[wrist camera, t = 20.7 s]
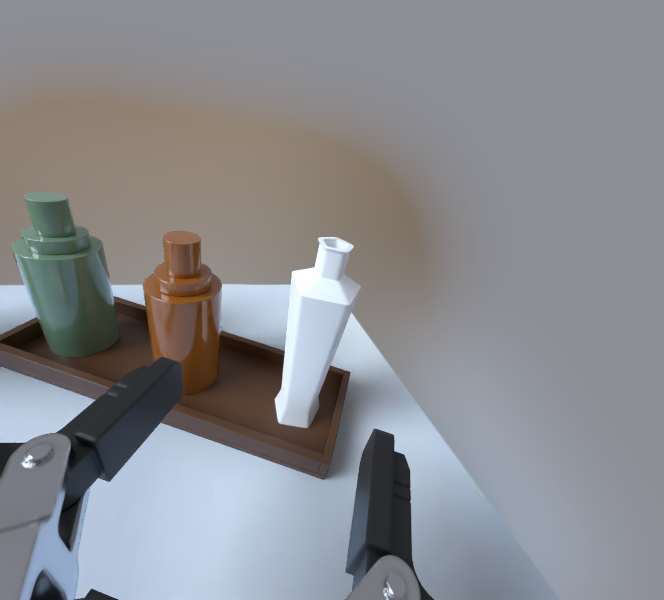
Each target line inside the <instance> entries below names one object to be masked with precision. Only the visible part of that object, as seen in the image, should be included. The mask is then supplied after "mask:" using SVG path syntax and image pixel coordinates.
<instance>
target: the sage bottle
mask: <svg viewBox="0 0 664 600" xmlns="http://www.w3.org/2000/svg"><path fill="white" fill-rule="evenodd" d="M24 200H25V203H26V206H27V209H28V212H29V215H30V218H31V221H32V224H33V226H30V227H27V228H25V229H24V230H23V231H22V232H21V235H22V238H21V239H19V240H17V241H16V242H15V243H14V244H13V245H12V247H11V249H12V252H13V255H14V258H15V260H16V263H17V265H18V268H19V270H20V273H21V276H22V279H23V281H24V284H25V287H26V289H27V292H28V295H29V297H30V300H31V302H32V305H33V308H34V310H35V313H36V316H37V318H38V321H39V324H40V326H41V329H42V331H43V334H44V337H45V339H46V342H47V345H48V347H49V349H50V350H51V351H52V352H53V353H55V354H57V355H59V356H64V357H83V356H88V355H92V354H96V353H99V352H101V351H103V350H105V349H107V348H109V347H110V346H112V345H113V344H114V343H115V342H116V341H117V340H118V339H119V337H120V327H119V322H118V317H117V312H116V307H115V302H114V297H113V292H112V287H111V283H110V278H109V273H108V268H107V263H106V258H105V253H104V248H103V243H102V241H101V240H100V239H98V238H97V237H94V236H92V235H89V232H88V230H87V229H86V228H85V227H83V226H80V225H75V224H74V220H73V216H72V212H71V207H70V204H69V199H68V197H67V196H66V195H63V194H60V193H54V192H32V193H28V194H25V195H24Z"/></svg>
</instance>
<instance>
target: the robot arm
mask: <svg viewBox="0 0 664 600" xmlns="http://www.w3.org/2000/svg"><path fill="white" fill-rule="evenodd" d="M183 390H184V382H183V368H182V363H180V362H178V361H175V360H172V359H169V358H166V357H160V358H158V359H157V360H156V361H155V362H154V363H153V364H151V365H150V366H149V367H147V366H144V365H143V366H141V367H139V368H137V369H135V370H133V371H131V372H129V373H127V374H126V375H125V376H124V377H123V378H121V379H120V380H119V381H118V382H117V383H116V385H113V386H112V387H111V388H110V389H108V390H107V391H106V393H105V394H103V395H101V396H100V397H99V398H98V399H97V400H95V401H94V402H93V403H92V404H91V405H90V406H88V407H87V408H86V409H85V410H84V411H82V412H81V413H80V414H79V415H78V416H77V417H75V418H74V419H73V420H72V421H71V422H70V423H68V424H67V425H66V426H65V427H63V428H62V429H61V430H59V431H58V432H56V433H50V434H45V435H41V436H38V437H36V438H33V439H31V440H29V441H28V442H26V443H0V600H118V599H115V598H113V597H110V596H108V595H106V594H103V593H101V592H98V591H96V590H93V589H91V590H90V591H89V593H88V594H87V596H86V597H85V598H80V599H75V596H76V590H77V584H78V549H79V544H80V539H81V533H82V528H83V523H84V518H85V512H86V507H87V502H88V497H89V490H90V488H89V487H90V486H91V485H92V484H93V483H94V482H95V481H96V480H97V478H100V479H103V480H105V481H108V482H110V481H111V480H112V478H113V477H114V476H115V475H116V474H117V473H118V471H119V470H120V469H121V468H122V467H123V466H124V464H125V463H126V462H127V461H128V460H129V459H130V457H131V456H132V455H133V454H134V453H135V452H136V450H137V449H138V448H139V447H140V446H141V445H142V443H143V442H144V441H145V440H146V439H147V438H148V436H149V435H150V434H151V433H152V432H153V431H154V429H155V428H156V427H157V426H158V425H159V424H160V422H161V421H162V420H163V419H164V418H165V417H166V415H167V414H168V413H169V412H170V411H171V410H172V408H173V407H174V406H175V405H176V404H177V403H178V401H179V400H180V398H181V396H182V394H183ZM410 500H411V492H410V469H409V466H408V463H407V461H406V458H405V455H404V454H401V453H398V452H395V451H394V435H393V434H390V433H387V432H384V431H381V430H378V429H374V430H373V432H372V434H371V436H370V438H369V440H368V442H367V444H366V446H365V449H364V451H363V454H362V457H361V461H360V467H359V474H358V481H357V489H356V496H355V504H354V511H353V518H352V526H351V533H350V541H349V548H348V556H347V563H346V571H345V572H346V573H348V574H351V575H354V579H353V587H352V592H351V593H350V594H349V595H348V597H347V598H346V599H345V600H434V599H433V598H432V597H431V596H430V595H429V594H428V593H427V592H426V591H425V589H424V588H423V586H422V585H421V583H420V581H419V579H418V577H417V575H416V573H415V570H414V566H413V561H412V541H411V503H410Z"/></svg>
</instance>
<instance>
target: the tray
mask: <svg viewBox="0 0 664 600" xmlns="http://www.w3.org/2000/svg"><path fill="white" fill-rule="evenodd" d="M113 297H114V302H115V307H116V312H117V317H118V322H119V327H120V337H119V339H118V340H117V341H116V342H115V343H114V344H113V345H112V346H110V347H109V348H107V349H105V350H103V351H101V352H99V353H96V354H92V355H88V356H83V357H64V356H59V355H57V354H55V353H53V352H52V351H51V350H50V349H49V347H48V345H47V342H46V339H45V337H44V334H43V331H42V329H41V326H40V324H39V321H38V318H37V317H36V318H34V319H32V320H30V321H28V322H26V323H24V324H22V325H20V326H18V327H16V328H14V329H12V330H9V331H7V332H5V333H3V334H1V335H0V366H2V367H4V368H7V369H10V370H13V371H16V372H19V373H22V374H24V375H27V376H30V377H33V378H36V379H39V380H41V381H44V382H47V383H50V384H53V385H56V386H59V387H61V388H64V389H67V390H70V391H73V392H76V393H79V394H81V395H84V396H87V397H90V398H93V399H96V400H97V399H98V398H99V397H100V396H101V395H103V394H105V393H106V391H107V390H108V389H110V388H111V387H112V386H113V385H116V383H117V382H118V381H119V380H120V379H121V378H123V377H124V376H125V375H126V374H127V373H129V372H131V371H133V370H135V369H137V368H139V367H141V366H143V365H144V366H147V367H149V366H150V365H151V364H153V356H152V349H151V342H150V334H149V327H148V320H147V312H146V306H143V305H140V304H137V303H134V302H131V301H128V300H124V299H121V298H118V297H115V296H113ZM284 355H285V351H283V350H280V349H277V348H274V347H270V346H267V345H264V344H261V343H258V342H255V341H252V340H249V339H246V338H242V337H239V336H236V335H233V334H230V333H227V332H224V331H221V338H220V371H219V375H218V377H217V379H216V380H215V382H214V383H213V384H212V385H211V386H209V387H208V388H206V389H204V390H202V391H200V392H197V393H194V394H189V395H182V396H181V398H180V400H179V401H178V403H177V404H176V405H175V406H174V407H173V408H172V410H171V411H170V412H169V413H168V414H167V415H166V417H165V418H164V419H163V420H162V421H161V423H164V424H167V425H170V426H172V427H175V428H178V429H181V430H184V431H187V432H190V433H192V434H195V435H198V436H201V437H204V438H207V439H209V440H212V441H215V442H218V443H221V444H224V445H227V446H229V447H232V448H235V449H238V450H241V451H244V452H246V453H249V454H252V455H255V456H258V457H261V458H264V459H266V460H269V461H272V462H275V463H278V464H281V465H283V466H286V467H289V468H292V469H295V470H298V471H301V472H303V473H306V474H309V475H312V476H315V477H318V478H320V479H325V476H326V474H327V471H328V468H329V466H330V462H331V458H332V453H333V449H334V444H335V440H336V435H337V431H338V426H339V422H340V417H341V413H342V408H343V404H344V399H345V395H346V390H347V386H348V381H349V377H350V372H348V371H344V370H342V369H339V368H336V367H333V366H330V367H329V370H328V372H327V375H326V378H325V380H324V383H323V385H322V388H321V390H320V393H319V395H318V396H319V409H318V411H317V413H316V415H315V417H314V419H313V421H312V423H311V425H310V427H309V428H302V427H296V426H290V425H284V424H280V423H279V422H278V419H277V412H276V405H275V398H276V396H277V395H278V393H279V392H280V390H281V387H282V376H283V366H284Z"/></svg>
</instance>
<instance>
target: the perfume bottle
mask: <svg viewBox="0 0 664 600" xmlns="http://www.w3.org/2000/svg"><path fill="white" fill-rule="evenodd" d="M318 240H319V243H320V244H319V249H318V254H317V259H316V264H315V267H314V268H309V269H303V270H297V271H293V272H292V279H291V289H290V300H289V311H288V322H287V333H286V344H285V355H284V366H283V376H282V387H281V390H280V392H279V393H278V395H277V396H276V398H275V405H276V412H277V419H278V422H279V423H280V424H284V425H290V426H296V427H302V428H309V427H310V425H311V423H312V421H313V419H314V417H315V415H316V413H317V411H318V409H319V396H318V395H319V393H320V390H321V388H322V385H323V383H324V380H325V378H326V375H327V372H328V370H329V367H330V365H331V362H332V360H333V357H334V355H335V352H336V349H337V347H338V344H339V342H340V339H341V337H342V334H343V332H344V329H345V326H346V324H347V321H348V319H349V316H350V314H351V311H352V308H353V306H354V303H355V301H356V298H357V295H358V293H359V291H360V288H361V286H360V285H359V284H357V283H356V282H354V281H353V280H352V279H350V278H349V277H348V276H346V275H345V274H344V272H345V268H346V264H347V261H348V257H349V254H350V251H351V250H352V248H353V247H354V246H353V245H351V244H350V243H348V242H346V241H343V240H341V239H339V238H336V237H321V238H319V239H318Z"/></svg>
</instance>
